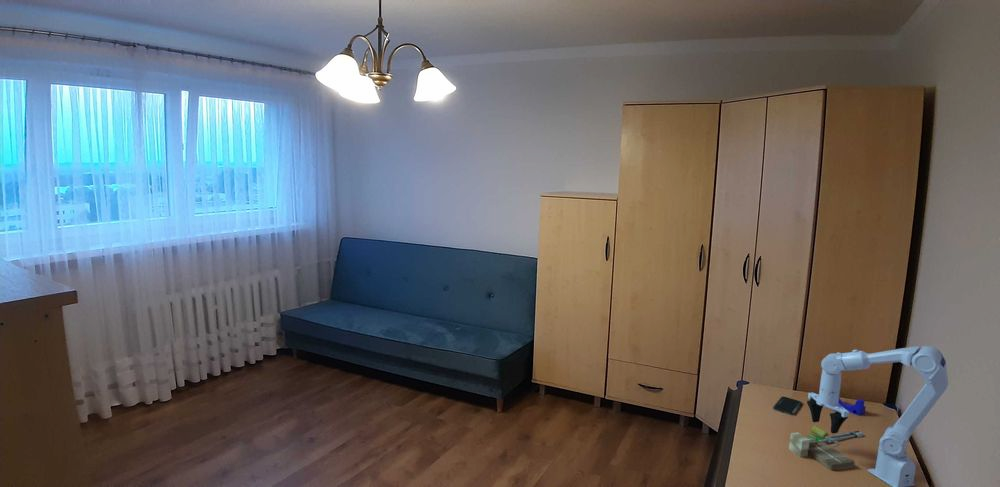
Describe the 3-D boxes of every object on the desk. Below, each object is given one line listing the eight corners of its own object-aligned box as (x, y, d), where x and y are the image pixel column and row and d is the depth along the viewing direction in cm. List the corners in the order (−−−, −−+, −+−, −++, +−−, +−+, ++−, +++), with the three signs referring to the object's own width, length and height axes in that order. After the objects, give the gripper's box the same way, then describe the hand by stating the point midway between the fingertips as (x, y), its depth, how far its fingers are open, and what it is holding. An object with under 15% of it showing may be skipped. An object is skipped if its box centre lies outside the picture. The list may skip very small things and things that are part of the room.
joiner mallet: (821, 454, 179) (823, 438, 178) (800, 457, 177) (802, 440, 176) (809, 446, 183) (811, 430, 182) (788, 449, 181) (790, 433, 180)
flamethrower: (786, 436, 189) (810, 452, 180) (787, 430, 189) (812, 445, 180) (842, 426, 200) (868, 441, 191) (843, 420, 199) (870, 434, 190)
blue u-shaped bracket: (864, 413, 210) (866, 399, 209) (858, 416, 208) (860, 401, 207) (834, 401, 221) (835, 387, 220) (827, 403, 218) (829, 389, 217)
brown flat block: (853, 467, 171) (854, 461, 171) (831, 470, 169) (831, 464, 169) (821, 446, 184) (822, 440, 184) (799, 448, 182) (800, 442, 182)
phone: (803, 402, 217) (794, 414, 206) (802, 404, 217) (793, 416, 206) (782, 395, 222) (772, 407, 211) (781, 398, 222) (771, 410, 211)
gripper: (802, 381, 182) (798, 418, 184) (838, 399, 168) (833, 439, 171) (819, 379, 184) (814, 416, 186) (856, 398, 170) (850, 437, 172)
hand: (824, 427), depth 178 cm, fingers open, 7 cm apart
